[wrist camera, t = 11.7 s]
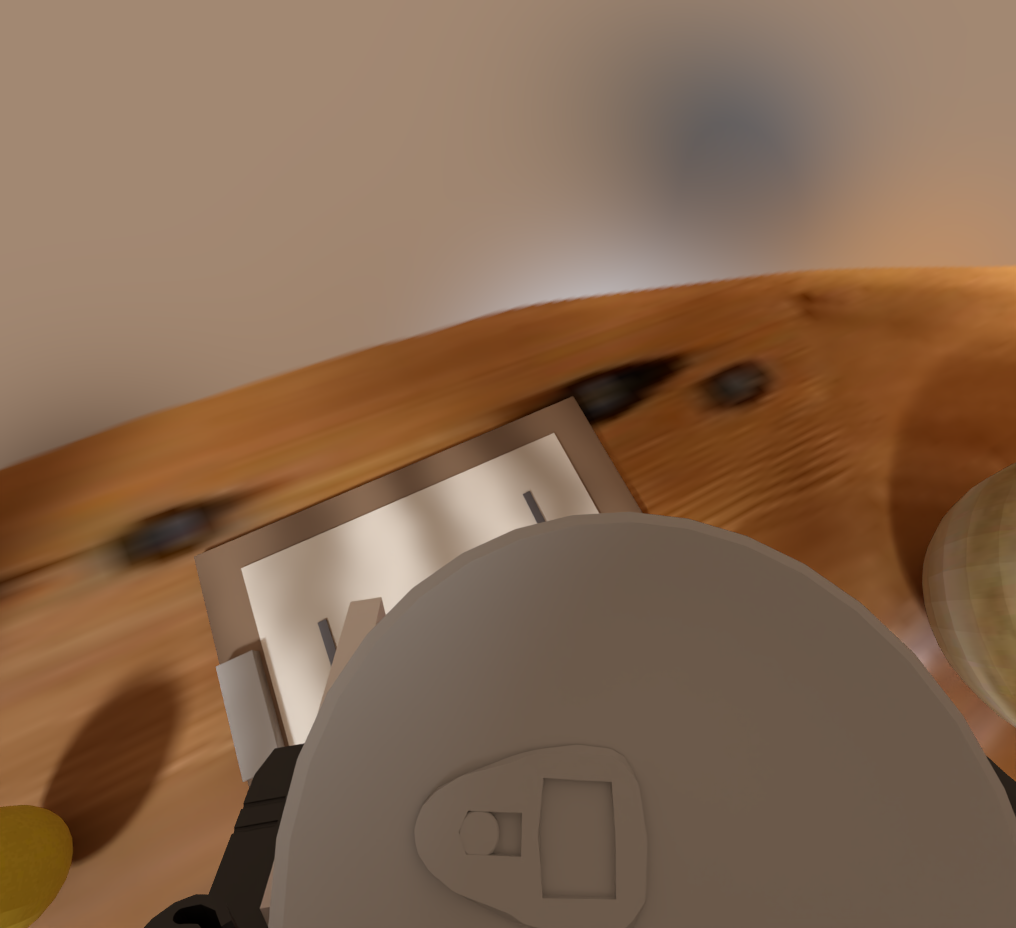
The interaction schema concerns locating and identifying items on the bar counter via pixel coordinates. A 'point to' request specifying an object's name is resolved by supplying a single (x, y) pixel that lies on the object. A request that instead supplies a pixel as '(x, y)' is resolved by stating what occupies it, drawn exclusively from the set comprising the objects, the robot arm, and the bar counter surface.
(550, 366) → the bar counter surface
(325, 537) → the clipboard
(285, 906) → the canned food
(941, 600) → the decorative ball
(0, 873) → the lemon
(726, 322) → the bar counter surface
